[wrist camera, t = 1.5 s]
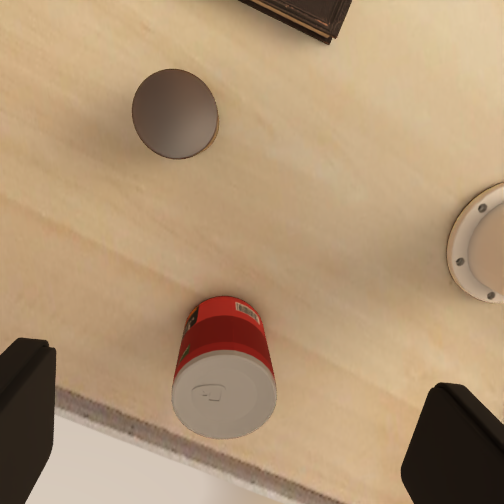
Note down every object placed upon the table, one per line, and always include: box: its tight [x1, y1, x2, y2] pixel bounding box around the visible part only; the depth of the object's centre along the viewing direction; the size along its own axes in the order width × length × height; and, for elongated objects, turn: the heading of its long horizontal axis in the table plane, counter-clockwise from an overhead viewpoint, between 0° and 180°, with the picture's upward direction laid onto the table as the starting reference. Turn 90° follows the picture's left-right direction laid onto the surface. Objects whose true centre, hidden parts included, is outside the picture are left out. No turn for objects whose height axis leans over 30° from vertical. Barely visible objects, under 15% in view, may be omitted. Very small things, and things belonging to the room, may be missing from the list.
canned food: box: [172, 296, 277, 439], centre depth 32 cm, size 8×8×11 cm
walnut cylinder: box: [132, 69, 219, 159], centre depth 28 cm, size 6×6×8 cm
